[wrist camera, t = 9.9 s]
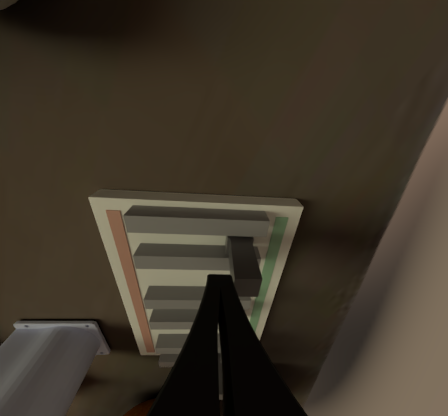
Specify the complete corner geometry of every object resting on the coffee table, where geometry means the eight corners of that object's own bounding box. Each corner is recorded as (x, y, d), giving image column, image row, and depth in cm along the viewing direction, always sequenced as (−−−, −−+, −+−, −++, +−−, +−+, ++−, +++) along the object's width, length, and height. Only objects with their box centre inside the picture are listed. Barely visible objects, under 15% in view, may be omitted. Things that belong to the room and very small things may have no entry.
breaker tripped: (225, 244, 15) (228, 296, 11) (226, 228, 14) (231, 278, 10) (248, 245, 15) (261, 296, 11) (251, 229, 14) (266, 279, 10)
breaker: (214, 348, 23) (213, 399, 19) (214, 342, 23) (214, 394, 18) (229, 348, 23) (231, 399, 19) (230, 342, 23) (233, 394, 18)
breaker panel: (144, 342, 25) (136, 369, 23) (100, 188, 14) (72, 206, 11) (253, 341, 26) (257, 366, 24) (296, 198, 15) (313, 216, 12)
